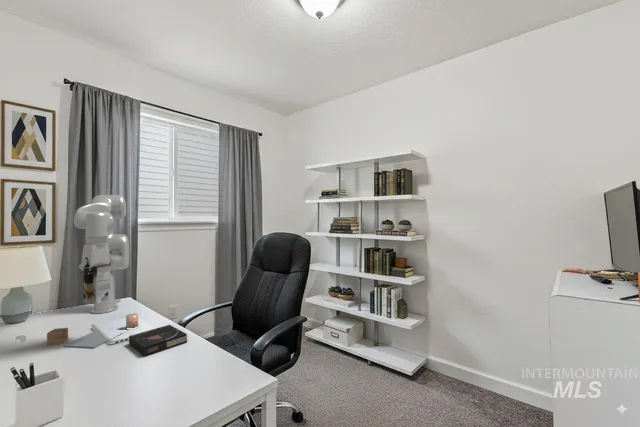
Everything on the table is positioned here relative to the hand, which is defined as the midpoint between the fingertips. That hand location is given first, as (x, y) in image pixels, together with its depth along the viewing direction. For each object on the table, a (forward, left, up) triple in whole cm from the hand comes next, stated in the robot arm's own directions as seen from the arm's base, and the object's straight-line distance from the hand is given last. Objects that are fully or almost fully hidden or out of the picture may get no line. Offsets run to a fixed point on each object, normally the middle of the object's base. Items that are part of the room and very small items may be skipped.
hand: (97, 280), depth 131 cm
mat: (0, 0, -25) cm, 25 cm away
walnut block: (+5, -14, -25) cm, 29 cm away
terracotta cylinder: (-13, +6, -25) cm, 29 cm away
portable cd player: (+2, +30, -26) cm, 40 cm away
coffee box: (0, 0, -9) cm, 9 cm away
